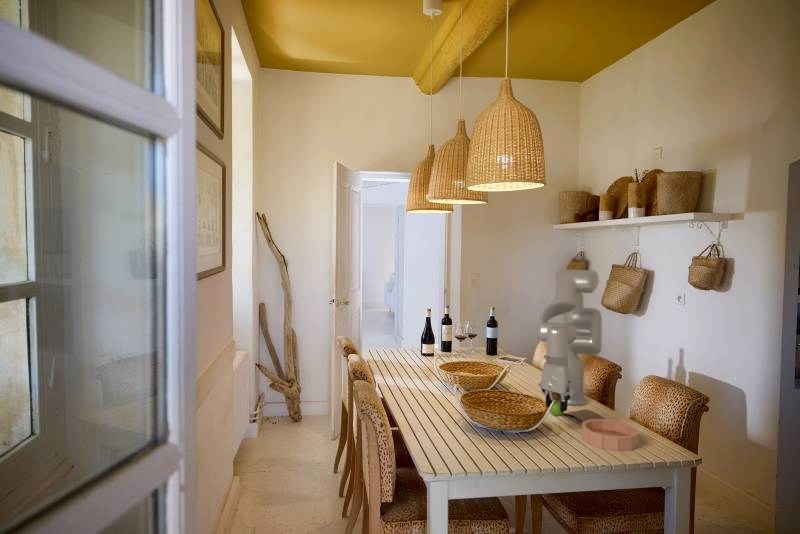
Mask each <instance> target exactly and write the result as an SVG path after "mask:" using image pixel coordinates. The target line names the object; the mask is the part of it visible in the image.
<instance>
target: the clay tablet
mask: <svg viewBox="0 0 800 534" xmlns="http://www.w3.org/2000/svg"><path fill="white" fill-rule="evenodd" d="M563 415H570V416H573V417H575V418H577V419H578V420H579V421H581V423H582V422H585V421H587V420H592V419H605V418H604V417H603V416H602V415H601V414H599V413H597V412H594V411H593V410H590V409H586V408H585V409H580V410H575V411H569V412H564V414H563Z"/></svg>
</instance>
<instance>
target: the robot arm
mask: <svg viewBox="0 0 800 534" xmlns="http://www.w3.org/2000/svg"><path fill="white" fill-rule="evenodd" d="M555 281H556V287H555V288H556V289H555V295H554V299H553V301H552V302H551V303H549V304H548V305H547V306H546V307H545V308H543V310H542V311H541V313H540V315H539V317H538V323H537V328H536V329H537V331H536V336H537V339H538V340H539V341H541V342H544V343H546V348H545V349H546V352H545V353H546V354H544V355H543V359H544V360H545V362H543V363H544V364H543V365H542V372H541V373H542V374H541V380H540V382H539V383H538V387H539V388H540V390H541V391H542V393H543V396H544V397H545V408H548V409H549V406H550V404H551V403H552V402H553V401H552V400H551V398H550V395H549V389H551V391H552V393H553V392H555V393H559V394H560V395H561V398H562V401H561V402H560V411H561V412H564V413H565V412H567V411H568V410H567V409H568V406H574V407H575V406H579V407H581V406H585V405H587V402H588V401H587V399H586V398H585V397H584V396H586V395H588V391H587V390H585V389H584V371H585V370H584V368H585V367H584V366H585V365H584V364H585V363H584V361H583V359H582V358H581V356H580V355H579V354H583V355H599V354H600V353H601V351H602V345H603V343H602V340H603V339H602V335H603V333H602V331H603V330H602V329H603V328H602V326H603V324H602V322H603V319H602V313H601V311H600V310H599V309H597V308H593V307H585V306H584V300H585V299H584V295H583V294H593V293H594V292H595V291H596V290H597V288H598V285H599V275H598V272H597V271H595V270H592V269H591V270H588V269H560V270H558V271H556V273H555ZM561 315H562V319H563V320H562V321H563V323H562V322H561V323H560V322H549V321H550V320H551V319H553V318H555V317H558V316H561ZM577 330H585V331H577ZM586 330H587V331H589V332H587V331H586ZM548 385H549V386H551V387H549V386H548Z"/></svg>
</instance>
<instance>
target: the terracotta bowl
mask: <svg viewBox="0 0 800 534" xmlns="http://www.w3.org/2000/svg"><path fill="white" fill-rule="evenodd" d="M581 440H582V441H584V442H585V443H587V444H588V445H590V446H593V447H595V448H599V449H603V450H607V449H608V451H615V452H621V451H622V452H624V451H625V452H626V451H633V450H635V449H637V448H639V445H640V432H639V429H638V428H636V427H635V426H633V425H631V424H629V423H625V422H622V421H618V420H613V419H605V418H604V419H592V420H587V421H585V422H582V421H581Z"/></svg>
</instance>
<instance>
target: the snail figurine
mask: <svg viewBox="0 0 800 534" xmlns="http://www.w3.org/2000/svg"><path fill="white" fill-rule="evenodd" d="M548 386H549V385H548ZM549 387H551V386H549ZM549 395H550V398H551V400H552V402H553V401H554V400H555V401H554V403H553V405H552V407H551V409H550V410H549V412H550V414H551V415H552V416H554V417H561V416H563V415H565V414H564V413H565V411H564V412H561V411H560V402H561V401H562V398H561V395H560V394H559V393H555V392H552V391H551V389H549Z"/></svg>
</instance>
